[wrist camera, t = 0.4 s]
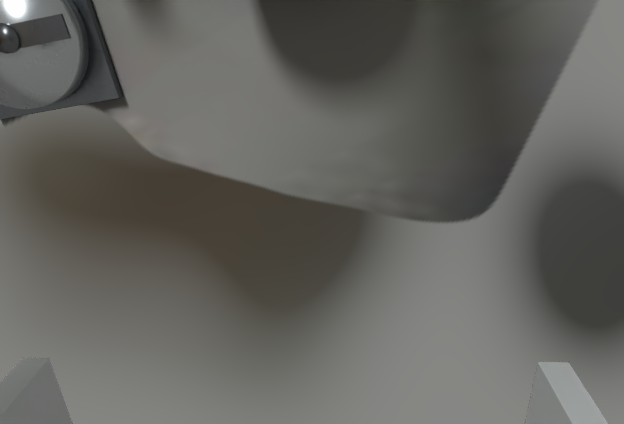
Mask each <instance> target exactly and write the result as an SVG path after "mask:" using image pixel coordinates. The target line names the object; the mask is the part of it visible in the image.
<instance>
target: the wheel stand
mask: <svg viewBox="0 0 624 424" xmlns="http://www.w3.org/2000/svg"><path fill="white" fill-rule="evenodd" d="M72 2H73V3H74V5H75V6H76V8H77V10H78V12H79V14H80V16H81V18H82V20H83V23H84V26H85V29H86V33H87V37H88V43H89V59H88V65H87V70H86V73H85V75H84V78H83V80H82V81H81V83H80V85H79V86H78V87H77V89H76V90H75V91H74V92H73V93H72V94H71V95H69V96H68V97H66V98H65V99H63V100H61V101H58V102H56V103H53V104H50V105H47V106H43V107H40V108H35V109H18V108H12V107H8V106H5V105H2V104H0V119H5V118H11V117H16V116H22V115H27V114H33V113H38V112H44V111H49V110H55V109H60V108H65V107H71V106H77V105H83V104H88V103H94V102H99V101H105V100H111V99H116V98H120V97H123V94H122V91H121V88H120V85H119V82H118V79H117V76H116V73H115V70H114V67H113V64H112V61H111V58H110V55H109V52H108V49H107V46H106V43H105V40H104V37H103V34H102V31H101V29H100V26H99V23H98V20H97V17H96V14H95V11H94V8H93V5H92V2H91V0H72Z"/></svg>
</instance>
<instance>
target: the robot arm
mask: <svg viewBox="0 0 624 424" xmlns="http://www.w3.org/2000/svg"><path fill="white" fill-rule="evenodd" d="M0 424H73V423H72V421H71V418H70V415H69V412H68V409H67V407H66V404H65V401H64V398H63V396H62V393H61V390H60V387H59V384H58V381H57V379H56V376H55V373H54V371H53V368H52V365H51V362H50V359H49V358H22V359H21V360H20V361H19V363H18V364H17V365H16V366H15V367H14V368H13V369H12V370H11V371H10V372H9V373H8V375H7V376H6V377H5V378H4V379H3V380H2V381H1V382H0ZM525 424H608V423H607V421H606V420H605V418H604V417H603V415H602V413H601V412H600V410H599V409H598V407H597V406H596V404H595V403H594V401H593V399H592V398H591V396H590V395H589V393H588V392H587V390H586V389H585V387H584V386H583V384H582V382H581V381H580V379H579V378H578V376H577V375H576V373H575V372H574V370H573V369H572V367H571V365H570V364H569V363H568V362H538V363H537V368H536V372H535V377H534V382H533V386H532V391H531V396H530V401H529V406H528V410H527V415H526V420H525Z"/></svg>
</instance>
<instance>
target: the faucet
mask: <svg viewBox="0 0 624 424" xmlns="http://www.w3.org/2000/svg"><path fill="white" fill-rule="evenodd" d="M88 59H89V43H88V37H87V33H86V29H85V26H84V23H83V20H82V18H81V16H80V14H79V12H78V10H77V8H76V6H75V5H74V3H73V2H72V0H0V104H2V105H5V106H8V107H12V108H18V109H35V108H40V107H43V106H47V105H50V104H53V103H56V102H58V101H61V100H63V99H65V98H66V97H68V96H69V95H71V94H72V93H73V92H74V91H75V90H76V89H77V87H78V86H79V85H80V83H81V81H82V80H83V78H84V75H85V73H86V70H87V65H88Z"/></svg>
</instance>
